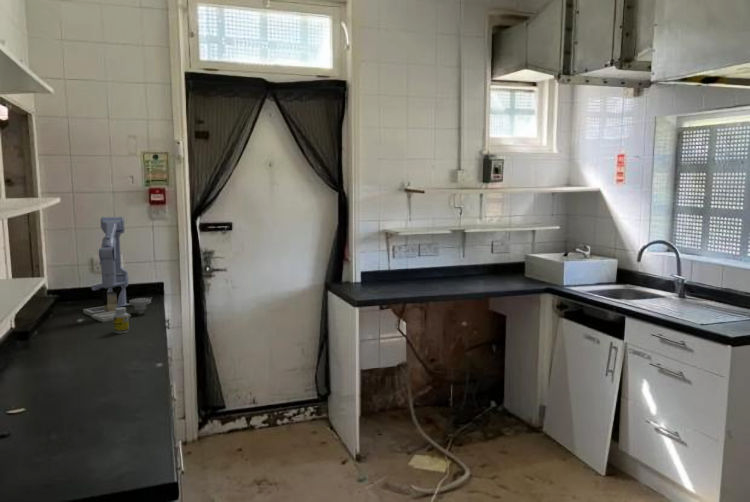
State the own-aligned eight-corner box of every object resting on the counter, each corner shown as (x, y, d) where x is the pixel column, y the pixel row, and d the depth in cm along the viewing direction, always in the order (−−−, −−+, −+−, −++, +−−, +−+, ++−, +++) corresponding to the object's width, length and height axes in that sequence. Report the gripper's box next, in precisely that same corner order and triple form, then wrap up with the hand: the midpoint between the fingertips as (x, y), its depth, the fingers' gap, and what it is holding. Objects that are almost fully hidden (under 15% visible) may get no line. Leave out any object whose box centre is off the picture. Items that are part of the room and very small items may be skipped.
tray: (92, 318, 253) (91, 314, 253) (118, 313, 262) (118, 310, 262) (103, 322, 245) (103, 319, 245) (130, 317, 254) (130, 314, 254)
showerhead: (152, 299, 259) (129, 301, 254) (153, 314, 260) (130, 316, 255) (151, 295, 267) (128, 297, 263) (152, 310, 268) (129, 312, 264)
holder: (83, 313, 262) (83, 309, 262) (105, 309, 269) (105, 305, 269) (92, 316, 255) (91, 312, 255) (114, 312, 263) (114, 309, 262)
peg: (104, 310, 253) (103, 292, 252) (113, 308, 256) (112, 291, 255) (108, 311, 250) (107, 294, 249) (117, 310, 253) (116, 292, 252)
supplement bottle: (111, 332, 229) (110, 309, 228) (122, 329, 234) (120, 306, 233) (121, 334, 227) (120, 310, 226) (132, 330, 232) (130, 307, 231)
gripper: (95, 277, 243) (97, 308, 245) (129, 273, 253) (130, 302, 255) (88, 275, 248) (90, 305, 249) (122, 271, 258) (123, 300, 260)
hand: (110, 304), depth 253 cm, fingers closed on peg, 4 cm apart
